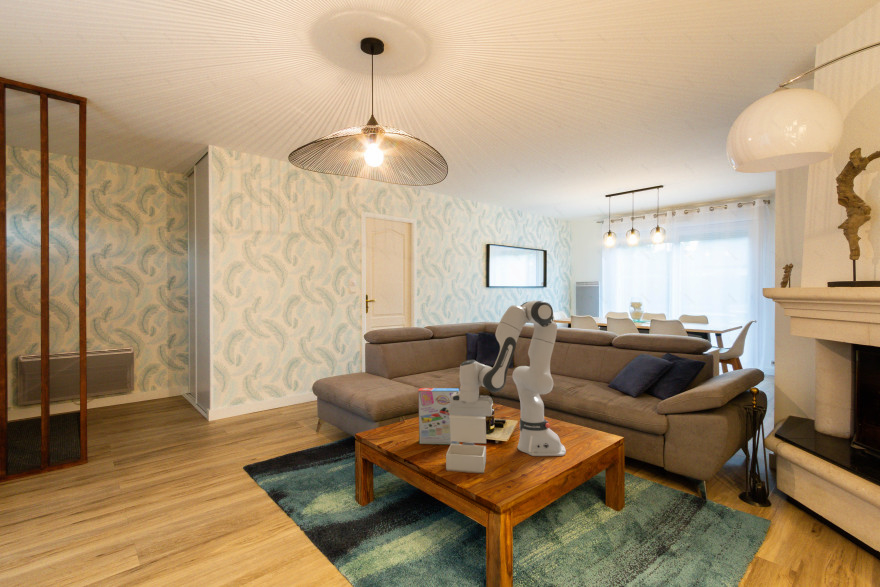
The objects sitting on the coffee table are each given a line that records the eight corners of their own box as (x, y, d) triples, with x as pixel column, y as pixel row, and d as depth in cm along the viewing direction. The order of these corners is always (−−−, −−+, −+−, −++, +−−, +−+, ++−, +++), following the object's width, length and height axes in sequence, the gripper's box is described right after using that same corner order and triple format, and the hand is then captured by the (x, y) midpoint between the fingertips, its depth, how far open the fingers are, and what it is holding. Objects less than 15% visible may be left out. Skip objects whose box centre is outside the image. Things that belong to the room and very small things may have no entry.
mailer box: (485, 461, 182) (485, 446, 182) (483, 473, 171) (483, 456, 171) (450, 459, 186) (450, 443, 186) (446, 470, 174) (446, 454, 174)
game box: (460, 441, 208) (459, 388, 207) (459, 445, 202) (459, 390, 202) (420, 440, 210) (419, 387, 210) (418, 444, 204) (417, 390, 204)
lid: (486, 461, 183) (487, 450, 191) (485, 418, 179) (486, 409, 188) (450, 458, 186) (453, 448, 194) (448, 416, 182) (452, 407, 191)
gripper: (492, 393, 191) (493, 423, 191) (449, 393, 195) (450, 422, 195) (491, 397, 184) (492, 427, 185) (447, 397, 188) (448, 426, 189)
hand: (470, 424), depth 190 cm, fingers closed
